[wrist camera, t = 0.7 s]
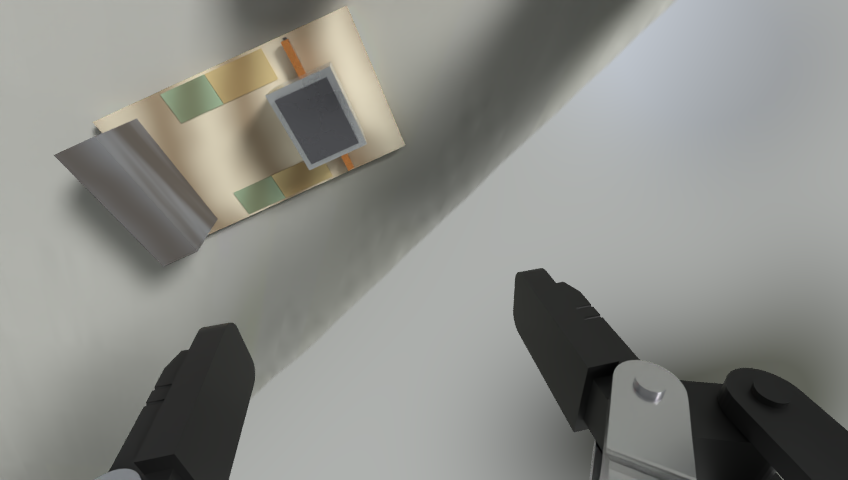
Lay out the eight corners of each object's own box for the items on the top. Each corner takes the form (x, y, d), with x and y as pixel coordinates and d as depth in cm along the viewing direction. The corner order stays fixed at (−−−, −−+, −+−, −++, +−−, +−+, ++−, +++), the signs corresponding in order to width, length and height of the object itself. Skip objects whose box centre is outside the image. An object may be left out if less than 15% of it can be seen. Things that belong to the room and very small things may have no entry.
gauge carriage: (314, 27, 29) (310, 25, 24) (375, 155, 34) (381, 175, 30) (256, 53, 29) (240, 57, 24) (326, 177, 34) (325, 200, 30)
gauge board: (346, 6, 30) (349, -1, 23) (403, 142, 36) (417, 164, 30) (101, 119, 30) (40, 141, 24) (200, 234, 36) (172, 275, 30)
